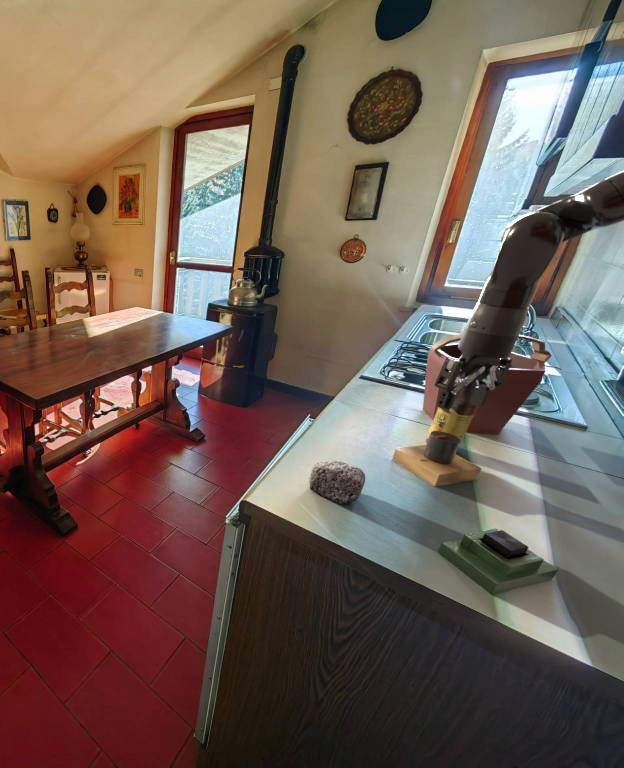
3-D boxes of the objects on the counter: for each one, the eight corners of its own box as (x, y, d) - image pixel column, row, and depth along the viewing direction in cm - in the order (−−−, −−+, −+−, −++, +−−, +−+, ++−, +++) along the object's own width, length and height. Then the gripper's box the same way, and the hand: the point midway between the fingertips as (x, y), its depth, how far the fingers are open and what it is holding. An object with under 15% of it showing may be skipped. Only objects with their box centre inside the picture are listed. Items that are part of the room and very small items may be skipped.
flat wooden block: (430, 454, 91) (434, 442, 89) (476, 479, 82) (481, 467, 80) (391, 459, 88) (396, 447, 87) (434, 486, 79) (439, 473, 78)
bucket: (511, 416, 110) (551, 330, 100) (536, 452, 92) (588, 352, 83) (405, 396, 122) (432, 317, 112) (411, 424, 104) (443, 334, 95)
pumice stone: (329, 485, 83) (294, 481, 79) (345, 454, 81) (310, 448, 77) (372, 517, 74) (335, 514, 70) (392, 482, 72) (354, 478, 68)
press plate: (497, 538, 62) (502, 529, 61) (524, 555, 58) (529, 546, 58) (480, 541, 61) (484, 533, 60) (506, 559, 58) (511, 550, 57)
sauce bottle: (421, 438, 98) (449, 363, 90) (452, 444, 95) (484, 368, 87) (428, 450, 92) (458, 372, 85) (461, 457, 90) (495, 377, 82)
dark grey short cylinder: (435, 450, 87) (443, 428, 85) (457, 462, 82) (467, 440, 80) (417, 452, 86) (425, 430, 83) (439, 465, 81) (448, 442, 79)
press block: (493, 540, 66) (503, 522, 64) (552, 580, 59) (564, 560, 57) (437, 552, 63) (445, 533, 62) (491, 595, 56) (502, 574, 55)
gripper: (484, 336, 68) (450, 418, 74) (544, 333, 71) (506, 412, 77) (442, 325, 74) (414, 401, 81) (498, 323, 77) (467, 396, 84)
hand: (459, 406), depth 79 cm, fingers open, 8 cm apart
